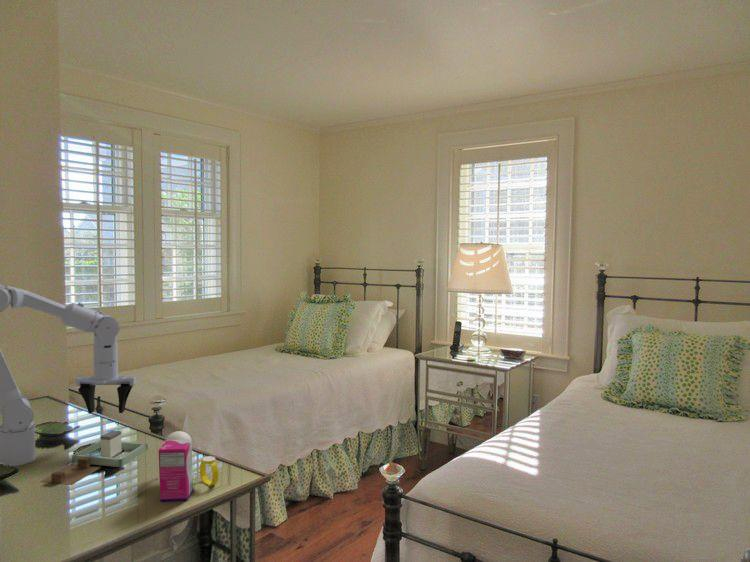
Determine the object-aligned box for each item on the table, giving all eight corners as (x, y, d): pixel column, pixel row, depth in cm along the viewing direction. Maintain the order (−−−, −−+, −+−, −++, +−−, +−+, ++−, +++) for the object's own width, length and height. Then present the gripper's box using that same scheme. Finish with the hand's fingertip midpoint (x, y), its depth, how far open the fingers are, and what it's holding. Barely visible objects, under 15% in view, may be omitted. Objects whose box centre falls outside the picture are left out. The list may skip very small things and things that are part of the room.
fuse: (100, 459, 137) (100, 436, 137) (112, 453, 142) (111, 430, 141) (110, 460, 137) (110, 436, 136) (121, 454, 141) (121, 430, 141)
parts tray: (72, 465, 135) (72, 455, 135) (101, 449, 146) (101, 439, 146) (121, 470, 133) (121, 459, 133) (147, 453, 144) (147, 443, 143)
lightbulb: (183, 485, 125) (183, 437, 124) (158, 482, 126) (158, 435, 126) (197, 474, 131) (197, 428, 130) (173, 471, 132) (173, 426, 132)
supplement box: (166, 490, 123) (165, 439, 122) (193, 489, 123) (193, 438, 122) (158, 502, 117) (157, 449, 116) (187, 501, 118) (187, 448, 117)
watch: (221, 487, 126) (222, 461, 125) (210, 490, 123) (211, 465, 123) (207, 477, 130) (208, 452, 129) (196, 480, 128) (197, 455, 127)
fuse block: (39, 485, 124) (39, 472, 124) (71, 467, 134) (71, 456, 134) (71, 488, 123) (71, 476, 122) (101, 470, 132) (101, 458, 132)
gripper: (69, 364, 141) (70, 417, 142) (129, 364, 142) (130, 416, 143) (81, 358, 148) (82, 408, 149) (138, 358, 149) (139, 408, 150)
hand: (106, 412), depth 146 cm, fingers open, 7 cm apart
